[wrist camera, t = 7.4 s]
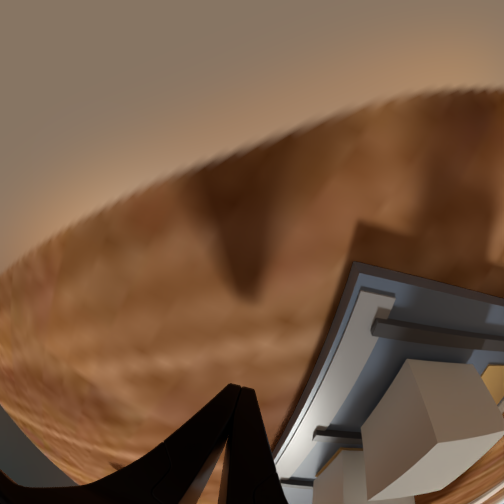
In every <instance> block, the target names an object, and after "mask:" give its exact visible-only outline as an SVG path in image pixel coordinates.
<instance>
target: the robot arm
mask: <svg viewBox="0 0 504 504" xmlns="http://www.w3.org/2000/svg"><path fill="white" fill-rule="evenodd" d="M227 438H228V439H227ZM226 441H227V443H226ZM225 444H226V449H225V456H224V463H223V470H222V477H221V484H220V491H219V498H218V504H289V503H288V501H287V499H286V497H285V494H284V491H283V488H282V486H281V483H280V479H279V476H278V473H277V472H276V471H277V470H276V466H275V463H274V459H273V456H272V452H271V449H270V445H269V442H268V438H267V434H266V431H265V427H264V423H263V420H262V416H261V412H260V408H259V405H258V401H257V397H256V393H255V390H254V389H252V388H248V387H242V388H241V386H240V385H236V384H232V383H230V384H228V385H227V386H226V387H225V388H224V389H223V390H221V391H220V392H219V393H218V394H217V395H216V396H215V397H214V398H213V399H212V400H211V401H209V402H208V403H207V404H206V405H205V406H204V407H203V408H202V409H201V410H199V411H198V412H197V413H196V414H195V415H194V416H193V417H191V418H190V419H189V420H188V421H187V422H186V423H184V424H183V425H182V426H181V427H180V428H179V429H177V430H176V431H175V432H174V433H173V434H171V435H170V436H169V437H168V438H166V439H165V440H164V443H163V442H161V443H160V444H159V445H158V446H156V447H155V448H154V449H152V450H151V451H150V452H148V453H147V454H146V455H144V456H143V457H141V458H139V459H138V460H136V461H134V462H133V463H131V464H129V465H127V466H126V467H124V468H122V469H120V470H118V471H116V472H114V473H112V474H110V475H108V476H106V477H104V478H102V479H100V480H97V481H95V482H92V483H89V484H86V485H80V486H70V487H50V488H49V487H47V488H32V487H23V486H21V485H18V484H17V483H15V482H14V481H13V480H12V479H11V478H10V477H9V476H7V475H6V474H5V473H4V472H3V471H2V470H1V469H0V504H196V503H197V501H198V499H199V497H200V495H201V493H202V491H203V489H204V488H205V486H206V484H207V482H208V480H209V478H210V475H211V473H212V471H213V469H214V467H215V465H216V463H217V461H218V459H219V457H220V455H221V453H222V451H223V448H224V446H225Z"/></svg>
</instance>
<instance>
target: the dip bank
mask: <svg viewBox="0 0 504 504" xmlns="http://www.w3.org/2000/svg"><path fill="white" fill-rule="evenodd" d="M406 359H414V360H424V361H435V362H447V363H462V364H473V365H474V367H475V369H476V370H477V372H478V373H479V375H480V377H481V378H482V380H483V382H484V383H485V385H486V387H487V389H488V390H489V392H490V394H491V396H492V397H493V399H494V401H495V403H496V405H497V406H498V408H499V410H500V412H501V414H502V413H503V412H504V299H503V298H499V297H495V296H491V295H488V294H484V293H480V292H476V291H472V290H468V289H465V288H461V287H457V286H453V285H449V284H445V283H441V282H437V281H433V280H429V279H425V278H421V277H417V276H413V275H409V274H405V273H401V272H397V271H393V270H389V269H385V268H381V267H376V266H372V265H368V264H364V263H360V262H356V261H353V264H352V268H351V271H350V274H349V277H348V280H347V283H346V286H345V289H344V292H343V295H342V298H341V300H340V303H339V306H338V309H337V312H336V314H335V317H334V320H333V322H332V325H331V328H330V330H329V333H328V335H327V338H326V340H325V343H324V345H323V348H322V350H321V353H320V355H319V358H318V360H317V362H316V365H315V367H314V369H313V372H312V374H311V376H310V378H309V381H308V383H307V385H306V387H305V389H304V392H303V394H302V396H301V398H300V400H299V402H298V404H297V406H296V408H295V411H294V413H293V415H292V417H291V419H290V421H289V423H288V425H287V426H286V428H285V430H284V432H283V434H282V436H281V438H280V440H279V442H278V444H277V445H276V447H275V449H274V451H273V453H272V456H273V459H274V463H275V466H276V470H277V471H276V472H277V473H278V476H279V479H280V483H281V486H282V488H283V491H284V494H285V497H286V499H287V501H288V503H289V504H312V499H313V484H314V480H315V479H316V478H317V477H318V476H319V475H320V474H321V473H322V472H323V471H324V470H325V469H326V468H327V467H328V466H329V464H330V463H331V462H332V461H333V460H334V459H335V458H336V457H337V456H338V454H339V453H340V452H341V451H342V450H349V451H363V442H362V434H361V427H362V425H363V424H364V423H365V421H366V420H367V419H368V417H369V416H370V415H371V413H372V412H373V410H374V409H375V408H376V406H377V405H378V403H379V402H380V400H381V399H382V397H383V396H384V394H385V393H386V391H387V390H388V388H389V387H390V385H391V384H392V382H393V381H394V379H395V377H396V376H397V374H398V373H399V371H400V369H401V368H402V366H403V364H404V362H405V361H406Z"/></svg>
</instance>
